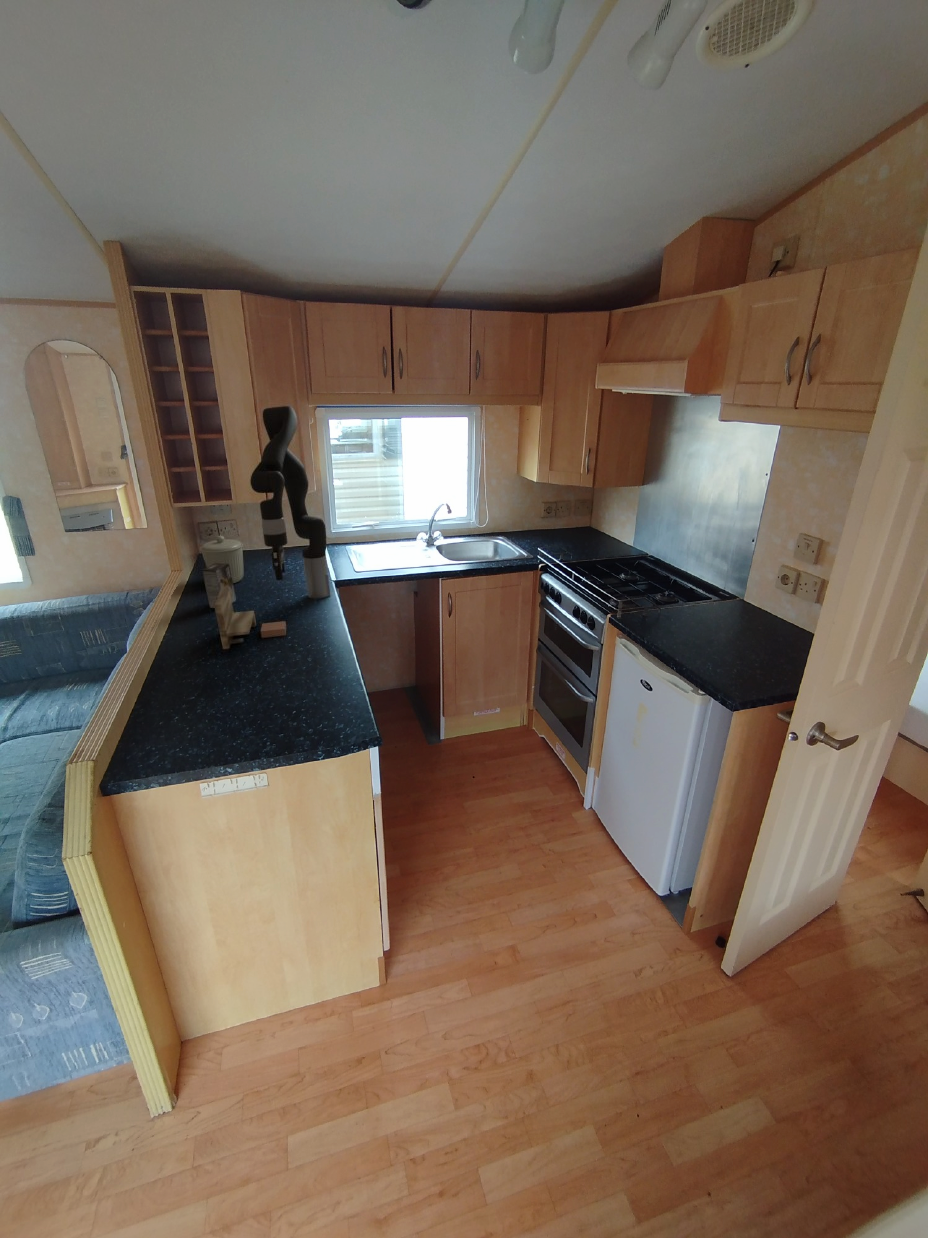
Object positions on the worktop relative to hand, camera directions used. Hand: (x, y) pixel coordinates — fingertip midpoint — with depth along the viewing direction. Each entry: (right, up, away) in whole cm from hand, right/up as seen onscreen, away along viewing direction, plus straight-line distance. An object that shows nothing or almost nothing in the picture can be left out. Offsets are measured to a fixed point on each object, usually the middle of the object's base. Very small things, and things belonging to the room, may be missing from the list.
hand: (280, 576), depth 196 cm
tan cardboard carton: (-4, -20, +3) cm, 20 cm away
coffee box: (-33, -9, +30) cm, 46 cm away
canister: (-42, +2, +56) cm, 71 cm away
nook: (-15, -21, +1) cm, 26 cm away
